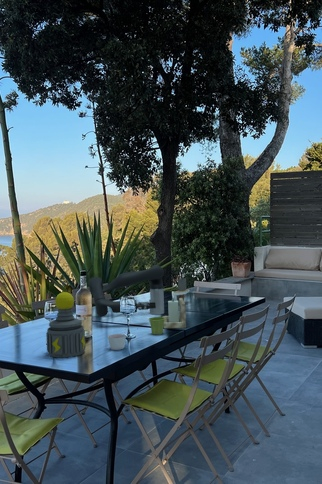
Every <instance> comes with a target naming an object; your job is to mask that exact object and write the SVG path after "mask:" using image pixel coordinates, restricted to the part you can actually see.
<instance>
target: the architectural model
mask: <svg viewBox="0 0 322 484" xmlns="http://www.w3.org/2000/svg"><path fill="white" fill-rule="evenodd" d="M177 285H178V286H177V289H178V290H176V291H174V292H173V293H172V295H173V296H175V297H176V298H175V299H176V301H178V306H179V298H183V300H184V301H185V300H186V294H188V293H189V292H190V289H189V288H187V277H185V278H182V277H181V278H178V279H177Z"/></svg>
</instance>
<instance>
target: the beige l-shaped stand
mask: <svg viewBox="0 0 322 484" xmlns="http://www.w3.org/2000/svg"><path fill="white" fill-rule="evenodd" d="M178 308H179V322H169V315H163V316H162V317H164V318H165V320H164V326H163V329H184V328H187V317H186V314H187V313H186V312H187V311H186V302H185V299H184V300H183V298H179V305H178Z"/></svg>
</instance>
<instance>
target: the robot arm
mask: <svg viewBox="0 0 322 484" xmlns="http://www.w3.org/2000/svg"><path fill="white" fill-rule="evenodd" d="M164 275H165V271H164V269H163V267H161V266H160V265H157V264H154V265H151V266H150V267H149V268H148V269H144V270H136V271H135V270H134V271H128V272H124V273H120V274H118V275H117V276H116V277H115V278H114V279H113V280H112V281H111V282H109V283H108V284H105V285H104V284H103V280H102V278H101V277H99V276H94V277H90V279H89V280H88V283H87V284H88V288H89V289H88V290H89V293H90V292H91V293H90V294H91V295H92V296H93V301H94V304H95V312H96V314H97V315H98V316H99V317H106V316H107V315H108V313H109V308H110V309H111V311H112V313H114V314H119V313H120V314H121V312H120V301H121V300H115V301H114V300H109V299H106V296H105V293H108V292H110V291H115V290H118V289H122V288H127V287H130V286H134V285H136V284H140V283H143V282H147V281H148V284H149V298H150V299H149V301H139V302H138V301H137V299H134V300H135V306H136V310H135V312H134V313H137V312H138V310H139V311H147V310H149V314H150V315H163V314H165V302H164V301H165V300H164V299H165V297H164V295H165V294H164V283H163V282H164V281H163V277H164Z"/></svg>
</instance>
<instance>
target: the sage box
mask: <svg viewBox="0 0 322 484" xmlns="http://www.w3.org/2000/svg"><path fill="white" fill-rule="evenodd" d="M171 298H172V297H171ZM167 303H168V304H167V305H168V306H167V307H168V308H167V309H168V310H167V311H168V316H169V321H168V323H169V322H180V321H179V315H180V308H179V305H178V301H177V300H175V298H172V299H171V300H168V301H167Z"/></svg>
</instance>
